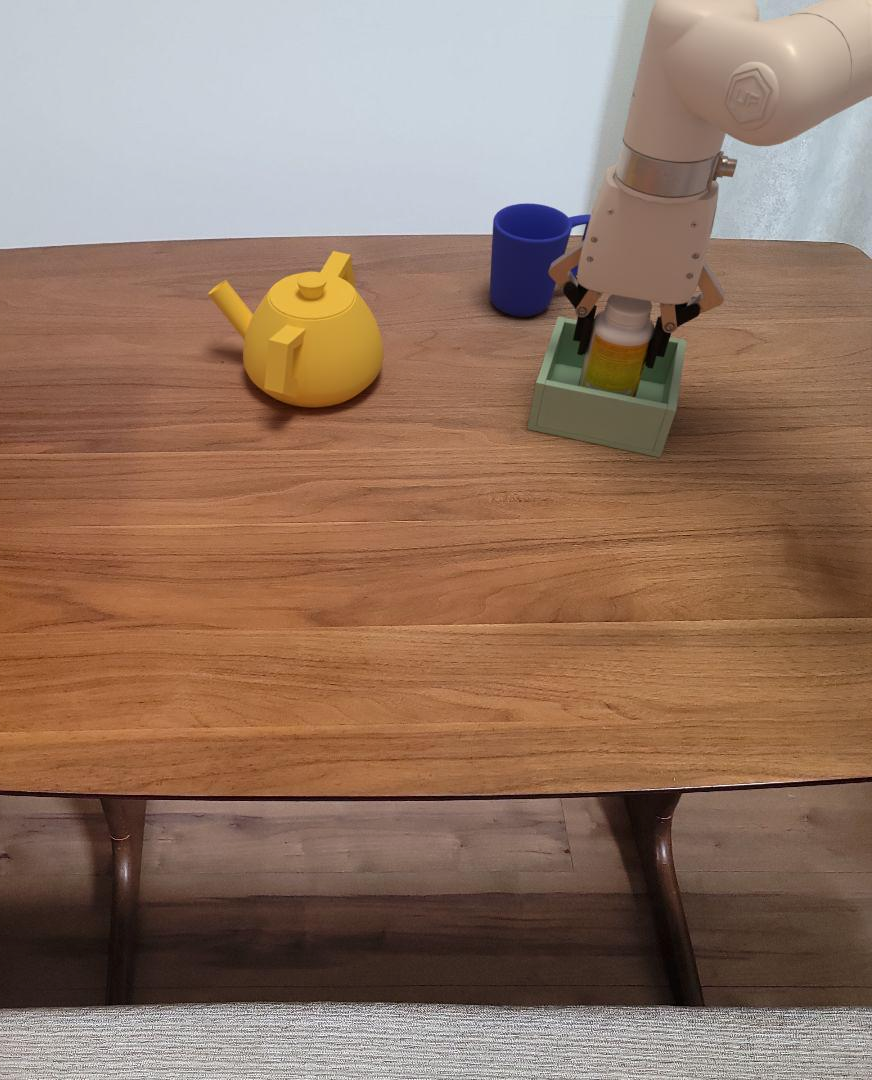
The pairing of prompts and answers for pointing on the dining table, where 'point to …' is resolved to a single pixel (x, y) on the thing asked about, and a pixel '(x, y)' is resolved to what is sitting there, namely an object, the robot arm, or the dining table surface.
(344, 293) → the teapot
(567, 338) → the bin
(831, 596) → the dining table surface
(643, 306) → the supplement bottle
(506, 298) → the mug
